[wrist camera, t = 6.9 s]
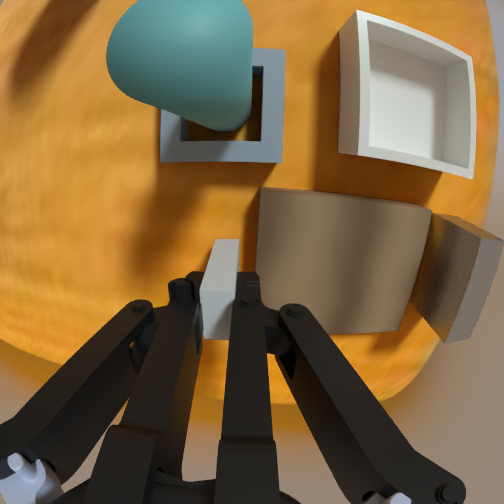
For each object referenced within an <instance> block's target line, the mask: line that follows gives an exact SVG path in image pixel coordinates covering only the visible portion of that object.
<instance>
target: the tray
mask: <svg viewBox="0 0 504 504" xmlns="http://www.w3.org/2000/svg"><path fill="white" fill-rule="evenodd" d="M339 40H340V120H339V142H338V153H343V154H351V155H358V156H365V157H371V158H378V159H384V160H389V161H395V162H400V163H406V164H411V165H415V166H420V167H425V168H429V169H434V170H438V171H442V172H446V173H450V174H454V175H458V176H462V177H466V178H469V179H473V173H474V162H475V147H476V97H475V83H474V73H473V64H472V57H471V56H469V55H467V54H465V53H464V52H462V51H460V50H458V49H456V48H454V47H453V46H451V45H449V44H447V43H445V42H443V41H441V40H438V39H436V38H434V37H432V36H430V35H428V34H425V33H423V32H421V31H418V30H416V29H413V28H411V27H408V26H406V25H403V24H400V23H397V22H395V21H392V20H389V19H386V18H383V17H380V16H376V15H373V14H369V13H366V12H362V11H358V10H356V11H355V12H354V13H353V14H352V16H351V17H350V18H349V19H348V20H347V21H346V23H345V24H344V25H343V26H342V27H341V28H340V30H339Z"/></svg>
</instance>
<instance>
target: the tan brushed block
mask: <svg viewBox="0 0 504 504" xmlns="http://www.w3.org/2000/svg"><path fill="white" fill-rule="evenodd" d="M431 215H432V210H429V209H427V208H425V207H423V206H421V205H418V204H413V203H407V202H400V201H394V200H387V199H380V198H372V197H365V196H356V195H348V194H339V193H330V192H319V191H309V190H297V189H284V188H269V187H260V190H259V206H258V222H257V238H256V254H255V270H254V272H256V273H257V274H258V275H259V276H260V289H261V300H262V302H263V304H264V305H265V306H266V307H268V308H270V309H274V310H278V311H279V309H280V307H282V306H283V305H285V304H289V303H297V304H301V305H303V306H305V307H307V308H308V309H309V310H310V312H311V313H312V314H313V316H314V317H315V318H316V320H317V321H318V322H319V323H320V325H321V326H322V327H323V329H324V330H325V331H326V333H327V334H353V333H373V332H388V331H398V330H399V327H400V325H401V322H402V319H403V316H404V314H405V311H406V308H407V305H408V302H409V299H410V296H411V293H412V290H413V287H414V283H415V280H416V277H417V273H418V270H419V266H420V263H421V259H422V255H423V251H424V247H425V243H426V239H427V234H428V230H429V225H430V220H431Z"/></svg>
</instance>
